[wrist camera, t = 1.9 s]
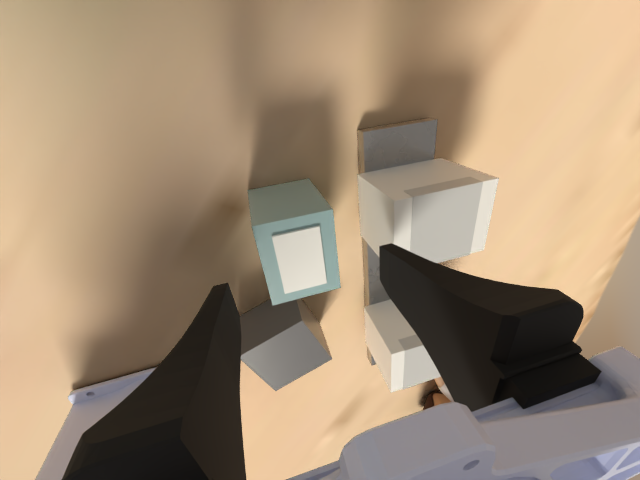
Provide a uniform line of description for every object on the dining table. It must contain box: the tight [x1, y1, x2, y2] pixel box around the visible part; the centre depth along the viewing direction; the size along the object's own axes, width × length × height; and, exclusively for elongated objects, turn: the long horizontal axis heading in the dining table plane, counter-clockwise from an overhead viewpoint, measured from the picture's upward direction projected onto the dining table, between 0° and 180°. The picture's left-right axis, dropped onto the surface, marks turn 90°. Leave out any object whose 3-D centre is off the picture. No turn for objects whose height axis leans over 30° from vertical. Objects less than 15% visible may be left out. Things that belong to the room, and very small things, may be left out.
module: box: [248, 178, 341, 305], centre depth 17 cm, size 4×5×6 cm
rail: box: [357, 118, 437, 365], centre depth 23 cm, size 5×22×1 cm, turn 7°
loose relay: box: [240, 298, 332, 391], centre depth 22 cm, size 5×5×4 cm
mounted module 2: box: [364, 299, 441, 392], centre depth 23 cm, size 6×4×5 cm
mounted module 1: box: [357, 158, 499, 263], centre depth 18 cm, size 6×5×5 cm
